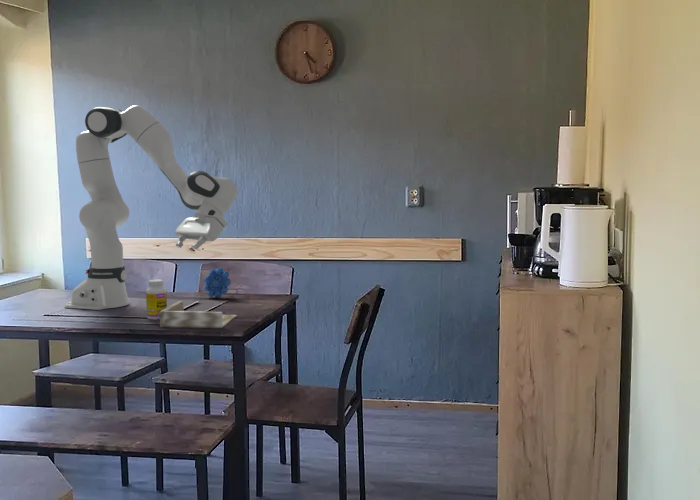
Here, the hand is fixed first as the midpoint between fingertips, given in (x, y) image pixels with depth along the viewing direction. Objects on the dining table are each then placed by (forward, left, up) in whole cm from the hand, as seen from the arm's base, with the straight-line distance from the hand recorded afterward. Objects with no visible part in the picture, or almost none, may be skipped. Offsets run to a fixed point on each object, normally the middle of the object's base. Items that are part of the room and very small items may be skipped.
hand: (186, 247), depth 250 cm
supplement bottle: (-7, -10, -23) cm, 26 cm away
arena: (+9, -14, -23) cm, 28 cm away
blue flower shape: (+3, +28, -23) cm, 36 cm away
